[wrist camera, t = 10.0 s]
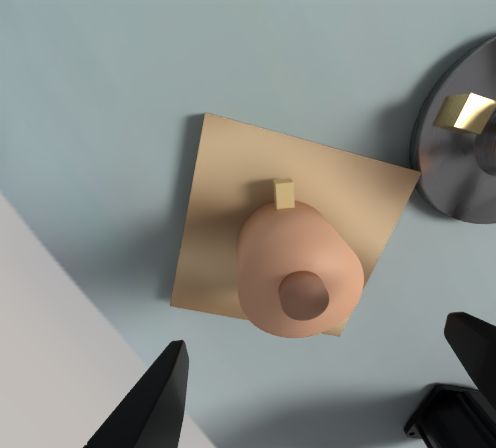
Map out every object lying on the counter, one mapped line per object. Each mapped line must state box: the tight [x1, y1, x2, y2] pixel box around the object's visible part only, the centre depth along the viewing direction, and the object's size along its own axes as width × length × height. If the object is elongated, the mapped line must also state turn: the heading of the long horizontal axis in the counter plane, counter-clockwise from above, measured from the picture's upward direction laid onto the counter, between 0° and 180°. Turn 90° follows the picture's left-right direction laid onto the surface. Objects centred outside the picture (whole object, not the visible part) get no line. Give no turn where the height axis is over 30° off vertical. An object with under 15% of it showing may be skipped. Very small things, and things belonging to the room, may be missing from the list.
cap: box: [237, 178, 364, 338], centre depth 13 cm, size 6×8×5 cm
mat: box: [170, 112, 422, 337], centre depth 16 cm, size 12×12×1 cm
